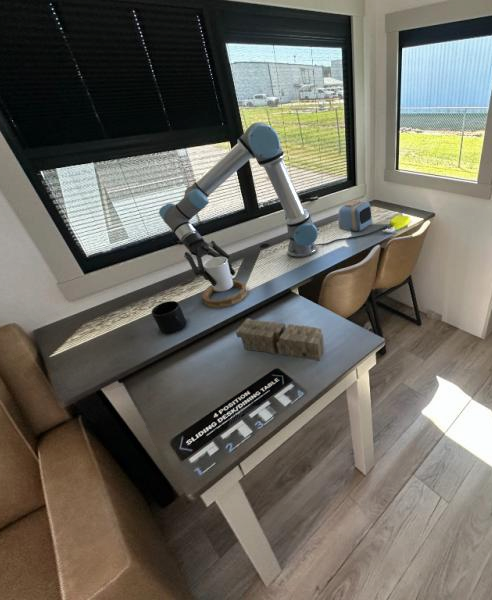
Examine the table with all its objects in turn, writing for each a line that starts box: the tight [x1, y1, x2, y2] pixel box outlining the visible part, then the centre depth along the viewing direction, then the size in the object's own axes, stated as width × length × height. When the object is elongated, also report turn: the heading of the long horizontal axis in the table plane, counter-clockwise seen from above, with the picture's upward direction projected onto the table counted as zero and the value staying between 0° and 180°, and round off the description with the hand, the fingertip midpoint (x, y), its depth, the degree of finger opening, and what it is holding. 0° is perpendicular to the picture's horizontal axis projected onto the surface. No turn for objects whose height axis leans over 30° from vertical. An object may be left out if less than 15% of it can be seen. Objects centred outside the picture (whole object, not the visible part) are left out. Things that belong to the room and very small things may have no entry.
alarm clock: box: [338, 199, 373, 232], centre depth 195 cm, size 16×16×16 cm
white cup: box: [202, 257, 234, 292], centre depth 133 cm, size 10×10×12 cm
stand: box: [202, 279, 248, 309], centre depth 138 cm, size 18×18×3 cm
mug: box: [150, 300, 188, 335], centre depth 119 cm, size 9×12×9 cm
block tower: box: [235, 317, 325, 361], centre depth 106 cm, size 8×8×29 cm
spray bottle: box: [382, 214, 411, 234], centre depth 194 cm, size 3×11×24 cm
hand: (224, 279), depth 133 cm, fingers closed on white cup, 9 cm apart
